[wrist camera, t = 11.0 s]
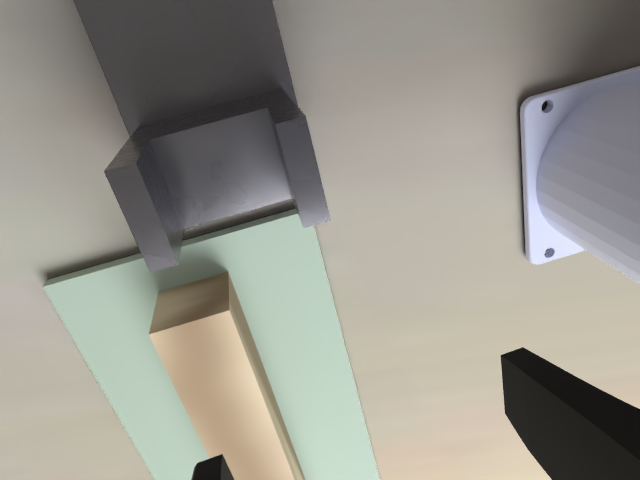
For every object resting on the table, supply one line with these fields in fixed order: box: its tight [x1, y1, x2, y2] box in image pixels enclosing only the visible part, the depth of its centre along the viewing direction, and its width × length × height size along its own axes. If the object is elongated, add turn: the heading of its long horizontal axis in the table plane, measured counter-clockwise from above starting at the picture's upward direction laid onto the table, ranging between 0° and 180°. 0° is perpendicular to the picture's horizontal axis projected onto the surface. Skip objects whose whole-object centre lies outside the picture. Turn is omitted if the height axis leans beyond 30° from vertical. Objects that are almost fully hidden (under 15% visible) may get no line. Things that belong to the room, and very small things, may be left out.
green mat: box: [43, 209, 380, 480], centre depth 24 cm, size 11×20×1 cm, turn 13°
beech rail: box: [149, 272, 305, 480], centre depth 22 cm, size 3×16×3 cm, turn 13°
